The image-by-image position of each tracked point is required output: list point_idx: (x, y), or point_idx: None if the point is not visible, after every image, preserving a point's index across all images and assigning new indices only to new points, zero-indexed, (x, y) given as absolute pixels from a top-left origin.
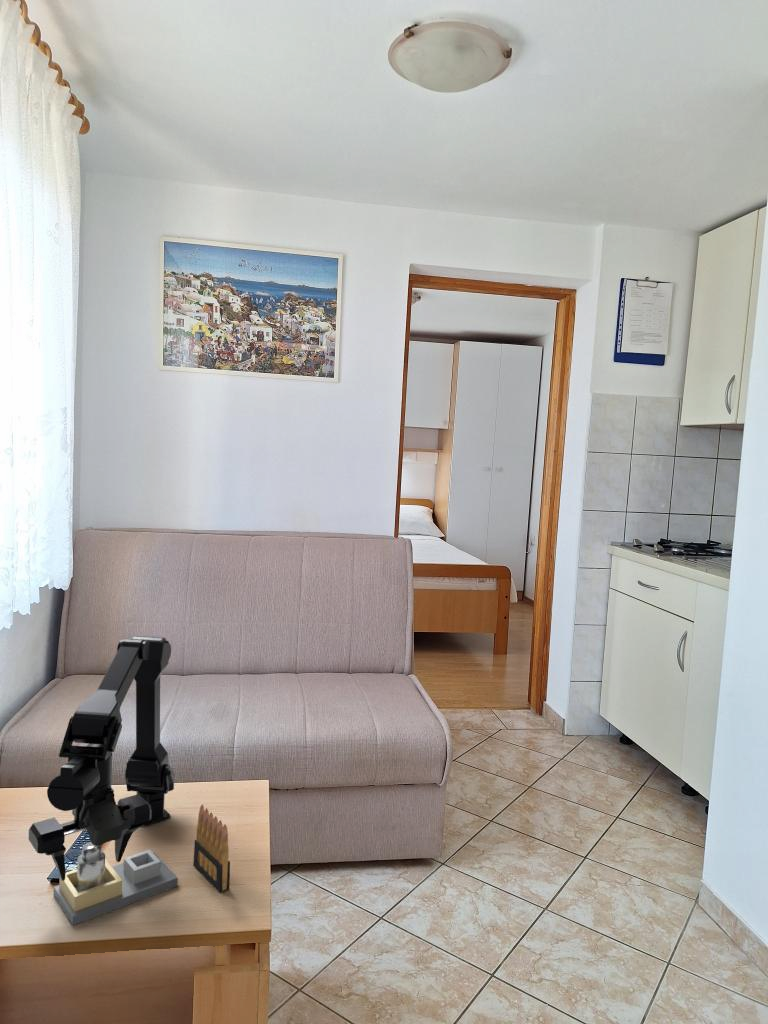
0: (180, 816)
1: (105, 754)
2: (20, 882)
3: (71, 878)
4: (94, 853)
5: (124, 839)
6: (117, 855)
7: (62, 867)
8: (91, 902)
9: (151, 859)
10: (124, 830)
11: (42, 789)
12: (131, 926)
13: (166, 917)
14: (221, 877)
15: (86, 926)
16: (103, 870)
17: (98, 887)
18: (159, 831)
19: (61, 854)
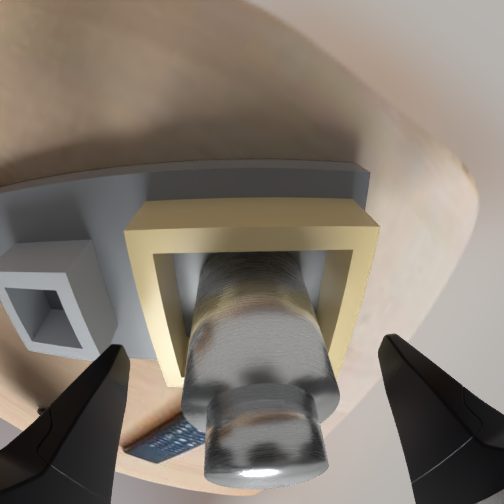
0: (23, 400)
1: None
2: (349, 392)
3: None
4: (272, 436)
5: (50, 442)
6: (116, 375)
7: (439, 380)
8: (285, 202)
9: (19, 306)
10: (37, 498)
11: (218, 492)
12: (174, 25)
13: (57, 29)
14: None
15: (320, 125)
16: (204, 324)
17: (254, 237)
18: (50, 394)
19: (492, 437)
